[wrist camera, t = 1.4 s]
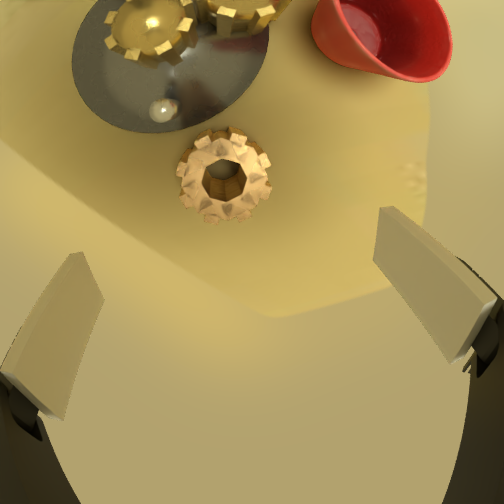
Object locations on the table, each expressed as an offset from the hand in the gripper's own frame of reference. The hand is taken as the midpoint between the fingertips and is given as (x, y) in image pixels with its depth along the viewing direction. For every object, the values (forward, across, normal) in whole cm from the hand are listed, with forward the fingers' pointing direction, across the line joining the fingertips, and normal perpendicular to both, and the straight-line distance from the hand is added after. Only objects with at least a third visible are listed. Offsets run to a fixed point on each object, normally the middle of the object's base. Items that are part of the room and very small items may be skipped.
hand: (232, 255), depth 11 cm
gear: (+16, 0, 0) cm, 16 cm away
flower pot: (+16, +13, +13) cm, 25 cm away
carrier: (+16, -4, +13) cm, 21 cm away
